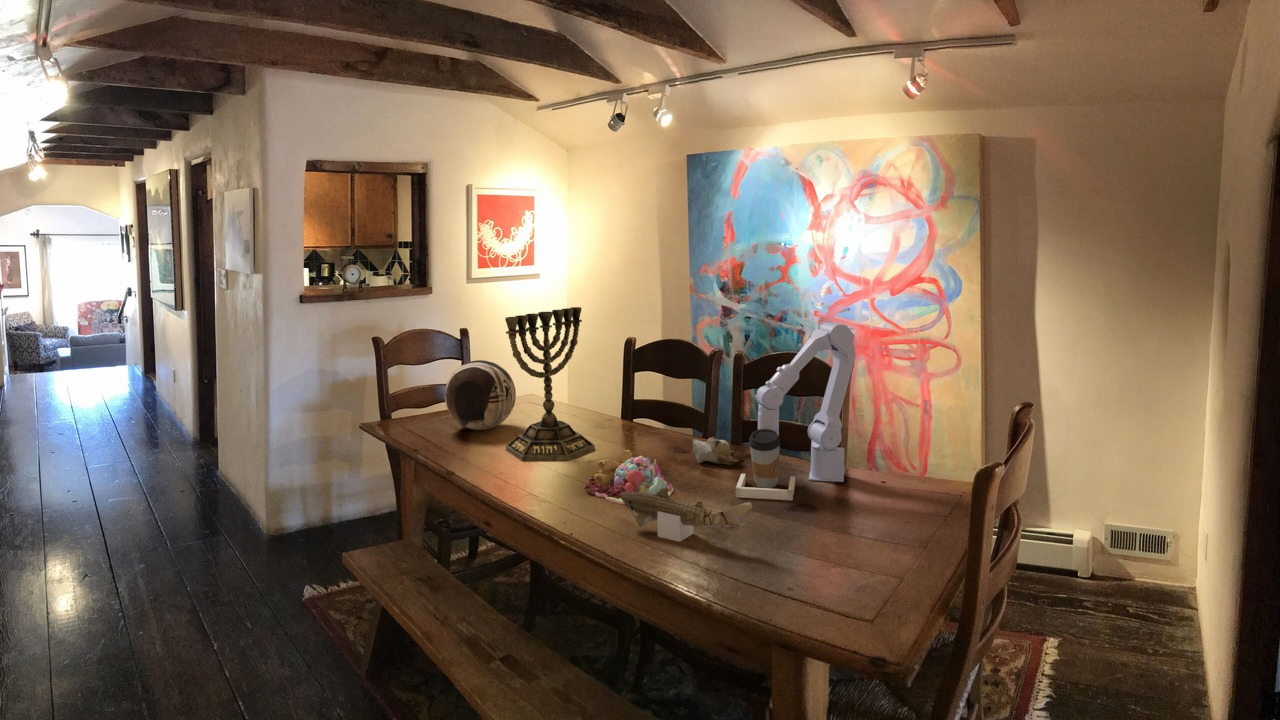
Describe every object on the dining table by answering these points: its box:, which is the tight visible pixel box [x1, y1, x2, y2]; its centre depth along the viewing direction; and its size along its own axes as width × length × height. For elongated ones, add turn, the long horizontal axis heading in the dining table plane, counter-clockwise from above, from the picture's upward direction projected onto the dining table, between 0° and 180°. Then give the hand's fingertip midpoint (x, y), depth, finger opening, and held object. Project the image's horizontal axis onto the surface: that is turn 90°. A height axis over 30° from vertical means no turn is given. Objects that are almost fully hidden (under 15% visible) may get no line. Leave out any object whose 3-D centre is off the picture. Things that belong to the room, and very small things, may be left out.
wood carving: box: [620, 488, 753, 543], centre depth 191 cm, size 9×35×11 cm, turn 55°
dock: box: [735, 473, 796, 501], centre depth 223 cm, size 15×13×2 cm
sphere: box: [444, 359, 517, 431], centre depth 297 cm, size 25×25×25 cm
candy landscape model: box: [583, 449, 674, 505], centre depth 227 cm, size 25×24×9 cm
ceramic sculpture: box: [692, 435, 743, 466], centre depth 250 cm, size 11×9×15 cm
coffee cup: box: [748, 429, 781, 489], centre depth 225 cm, size 8×8×15 cm
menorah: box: [505, 306, 596, 462], centre depth 265 cm, size 36×25×45 cm
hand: (767, 476), depth 231 cm, fingers closed, pressing on coffee cup
